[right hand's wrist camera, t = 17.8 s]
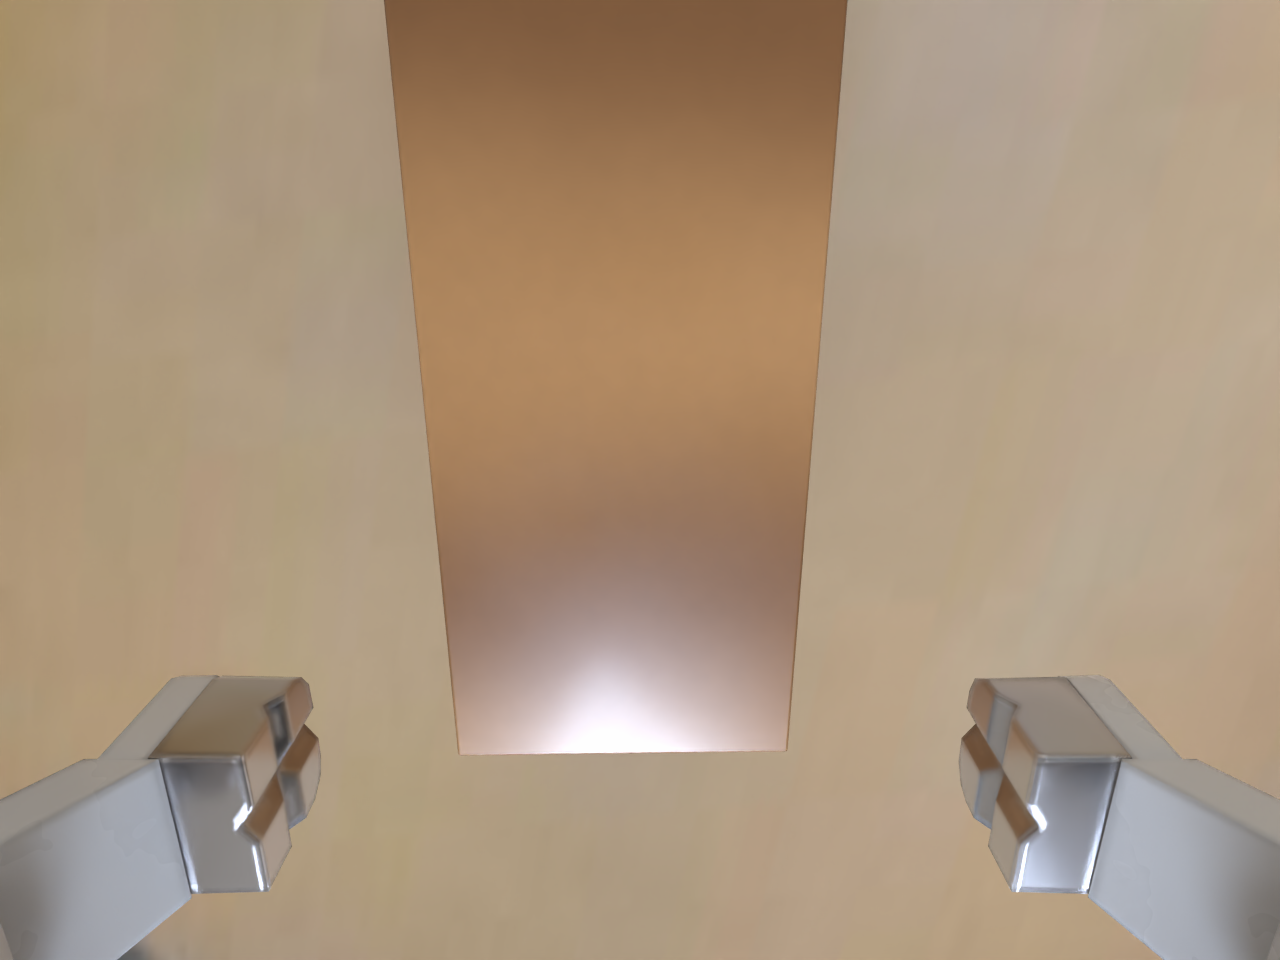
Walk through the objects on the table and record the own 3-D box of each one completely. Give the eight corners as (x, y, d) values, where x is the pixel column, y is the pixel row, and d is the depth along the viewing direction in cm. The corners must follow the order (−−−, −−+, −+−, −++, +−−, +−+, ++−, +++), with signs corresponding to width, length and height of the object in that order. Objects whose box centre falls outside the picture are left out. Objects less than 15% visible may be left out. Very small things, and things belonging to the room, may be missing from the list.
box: (718, 494, 26) (787, 752, 15) (527, 495, 26) (458, 756, 15) (752, -408, 18) (947, -1226, 7) (478, -411, 18) (260, -1246, 7)
